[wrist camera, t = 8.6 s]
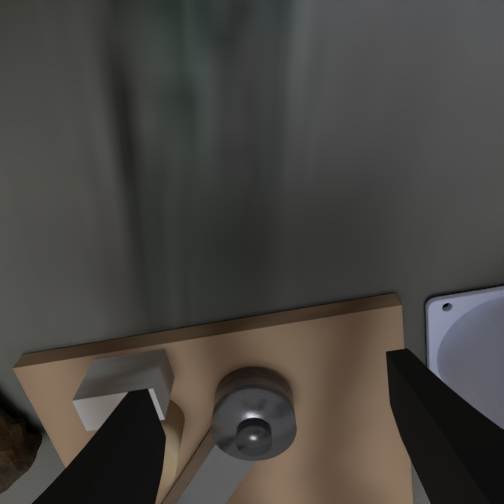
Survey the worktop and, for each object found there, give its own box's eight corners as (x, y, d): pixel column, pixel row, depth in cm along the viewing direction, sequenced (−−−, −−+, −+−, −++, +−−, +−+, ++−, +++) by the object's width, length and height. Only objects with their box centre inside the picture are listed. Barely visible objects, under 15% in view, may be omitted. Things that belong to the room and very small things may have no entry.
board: (394, 293, 23) (423, 341, 19) (409, 529, 31) (432, 596, 27) (23, 354, 24) (-20, 409, 21) (130, 563, 33) (114, 631, 29)
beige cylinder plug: (175, 390, 24) (164, 439, 21) (191, 436, 25) (183, 489, 22) (114, 399, 24) (93, 450, 21) (133, 445, 26) (117, 498, 23)
